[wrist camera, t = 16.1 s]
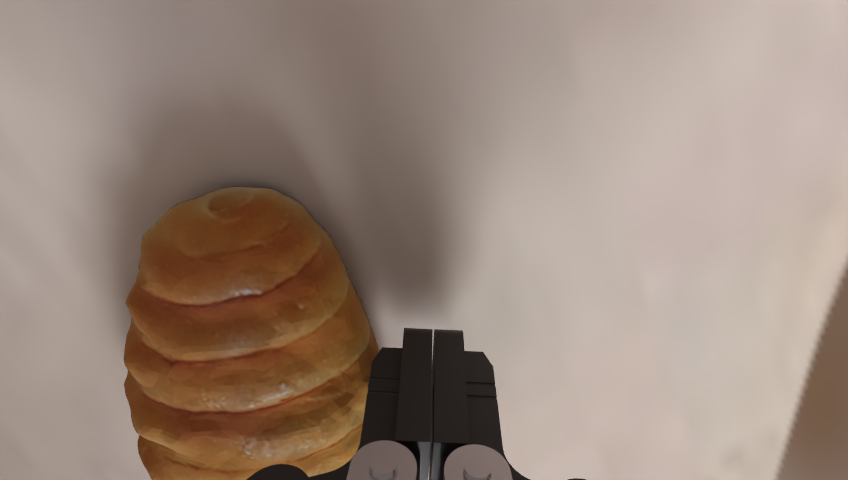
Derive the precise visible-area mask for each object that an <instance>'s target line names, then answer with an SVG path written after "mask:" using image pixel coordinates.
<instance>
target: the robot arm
mask: <svg viewBox="0 0 848 480" xmlns="http://www.w3.org/2000/svg"><path fill="white" fill-rule="evenodd" d="M496 397H497V396H496V388H495V379H494V371H493V366H492V365H491V363H490V362H489V360H488V359H487V357H486V356H485V354H484V353H483V352H472V351H464V339H463V331H459V330H438V329H435V330H434V343H433V359H432V329H413V328H404V336H403V348H382V349H381V350H380V351H379V353H378V354H377V355H376V357H375V358H374V359H373V361H372V365H371V371H370V380H369V385H368V393H367V398H366V405H365V412H364V419H363V425H362V432H361V439H360V444H359V447H358V450H357V452H356V453H355V455H354V456H353V457H352V458H351V459H350V461H348V462H347V463H346V464H345V465H343V466H341V467H340V468H338V469H336V470H333V471H330V472H327V473H323V474H319V475H315V476H311V477H308V476H307V474H306V473H305V472H304V471H303V470H301V469H300V468H298V467H296V466H293V465H289V464H275V465H271V466H268V467H265V468H263V469H261V470H259V471H257V472H256V473H254V474H253V475H252V476H250V477H249V478H248V479H246V480H428V475H429V480H529V479H527V478H526V477H524V476H522V475H521V474H519V473H518V472H517V471H516V470H515V469H514V468H513V467H512V466H511V465H510V464H509V462H508V461H507V459H506V457H505V455H504V451H503V446H502V438H501V429H500V421H499V413H498V404H497V400H496ZM429 460H430V464H429ZM568 480H585V479H568Z"/></svg>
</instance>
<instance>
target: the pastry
mask: <svg viewBox="0 0 848 480" xmlns="http://www.w3.org/2000/svg"><path fill="white" fill-rule="evenodd" d="M126 304H127V306H128V308H129V311H130V314H131V316H132V323H131V326H130V329H129V331H128V334H127V338H126V344H125V352H124V363H125V366H126V367H127V369H128V375H127V378H126V380H125V383H124V386H125V393H126V397H127V399H128V402H129V405H130V409H131V418H132V423H133V426H134V428H135V430H136V432H137V433H138V434H139V439H138V451H139V455H140V457H141V460H142V462H143V464H144V466H145V468H146V469H147V471H148V473H149V475H150V477H151V479H152V480H246V479H248V478H249V477H250V476H252V475H253V474H254V473H256V472H257V471H259V470H261V469H263V468H265V467H268V466H271V465H275V464H289V465H293V466H296V467H298V468H300V469H301V470H303V471H304V472H305V473H306V474H307V476H308V477H311V476H315V475H319V474H323V473H327V472H330V471H333V470H336V469H338V468H340V467H341V466H343V465H345V464H346V463H347V462H348V461H350V459H351V458H352V457H353V456H354V455H355V453H356V452H357V450H358V447H359V444H360V439H361V432H362V425H363V419H364V412H365V405H366V398H367V393H368V385H369V380H370V371H371V365H372V361H373V359H374V358H375V357H376V355H377V354H378V353H379V350H378V347H377V343H376V340H375V338H374V335H373V332H372V329H371V326H370V323H369V321H368V319H367V316H366V314H365V312H364V310H363V307H362V305H361V302H360V300H359V298H358V296H357V294H356V292H355V289H354V287H353V285H352V283H351V281H350V278H349V276H348V274H347V271H346V269H345V267H344V264H343V262H342V260H341V258H340V255H339V253H338V251H337V249H336V247H335V245H334V243H333V241H332V239H331V238H330V236H329V235H328V234H327V233H326V232H325V231H324V230H323V229H322V228H321V227H320V226H319V224H318V223H317V222H316V221H315V220H314V219H313V218H312V217H311V215H310V214H309V213H308V212H307V211H306V209H305V208H304V207H303V206H302V205H301V204H300V203H299V202H297V201H296V200H294V199H292V198H290V197H288V196H286V195H284V194H282V193H280V192H278V191H276V190H274V189H268V188H248V187H228V188H222V189H218V190H216V191H213V192H211V193H208V194H206V195H203V196H201V197H199V198H195V199H192V200H189V201H186V202H183V203H179V204H177V205H175V206H174V207H173V208H171V209H170V210H169V211H168V212H167V213H166V214H165V215H164V216H163V217H162V218H161V219H160V220H159V221H158V222H157V223H156V225H154V226H153V227H152V228H151V229H150V230H149V231H148V232H147V233H146V234H145V235H144V236H143V239H142V248H141V257H140V263H139V273H138V277H137V281H136V283H135V285H134V286H133V288H132V290H131V292H130V293H129V296H128V298H127V300H126Z"/></svg>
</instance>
